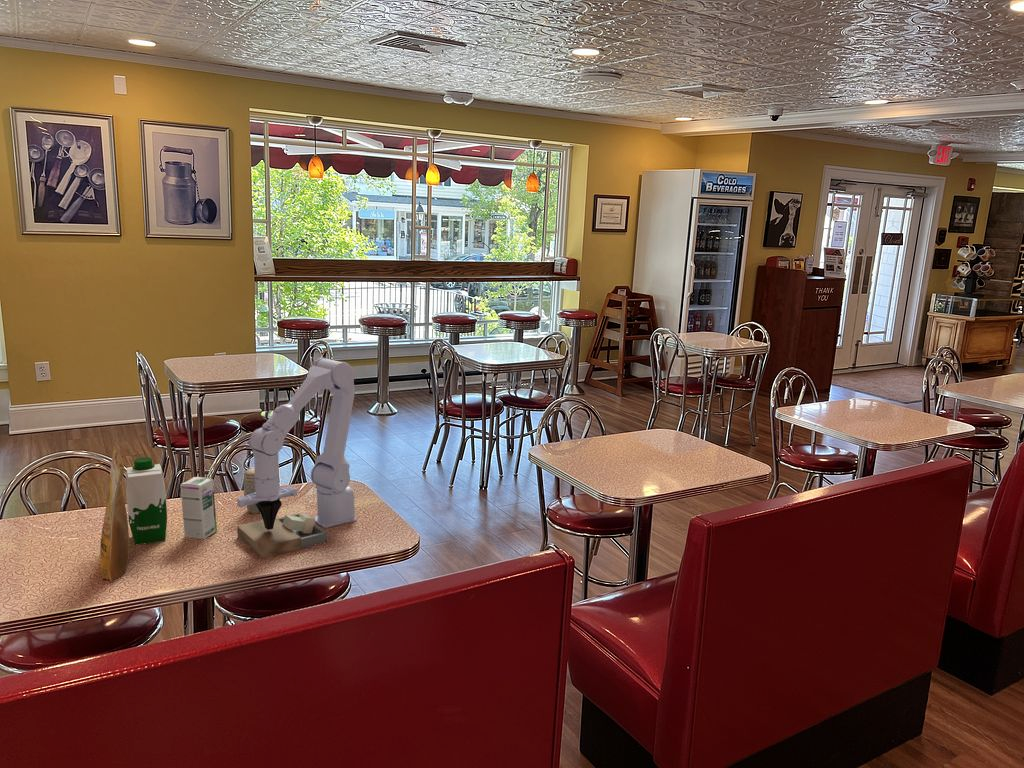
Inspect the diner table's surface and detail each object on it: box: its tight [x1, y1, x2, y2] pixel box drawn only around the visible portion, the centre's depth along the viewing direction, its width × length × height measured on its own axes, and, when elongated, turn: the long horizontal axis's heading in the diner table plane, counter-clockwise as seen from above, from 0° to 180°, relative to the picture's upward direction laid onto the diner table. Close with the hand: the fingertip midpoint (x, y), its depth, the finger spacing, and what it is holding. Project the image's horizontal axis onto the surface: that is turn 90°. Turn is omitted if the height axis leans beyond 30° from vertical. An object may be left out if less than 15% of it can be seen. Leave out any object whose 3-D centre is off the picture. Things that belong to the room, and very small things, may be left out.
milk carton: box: [125, 457, 168, 546], centre depth 193 cm, size 9×9×20 cm
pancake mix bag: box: [99, 441, 130, 583], centre depth 176 cm, size 7×19×28 cm, turn 23°
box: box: [276, 512, 328, 549], centre depth 199 cm, size 7×16×2 cm, turn 39°
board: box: [236, 517, 301, 560], centre depth 194 cm, size 10×16×3 cm, turn 39°
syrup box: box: [180, 476, 218, 540], centre depth 196 cm, size 6×6×14 cm
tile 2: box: [299, 512, 316, 533], centre depth 200 cm, size 4×4×2 cm
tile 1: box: [282, 514, 306, 531], centre depth 197 cm, size 4×4×2 cm
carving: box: [243, 467, 261, 514], centre depth 213 cm, size 6×8×12 cm
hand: (269, 528), depth 193 cm, fingers closed
